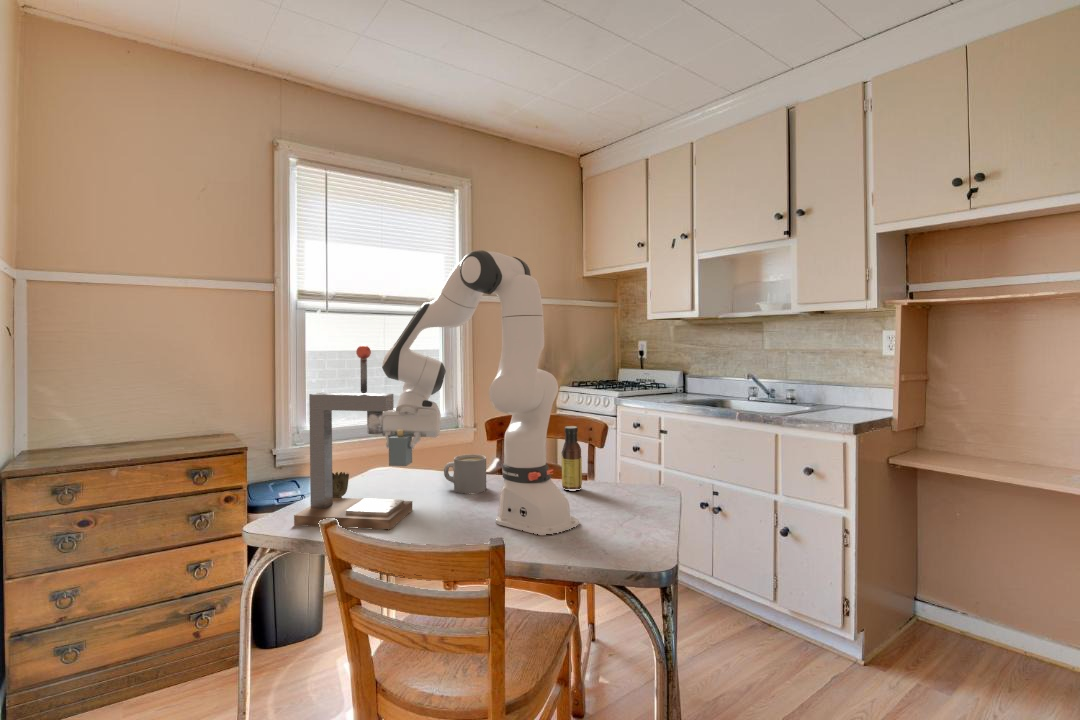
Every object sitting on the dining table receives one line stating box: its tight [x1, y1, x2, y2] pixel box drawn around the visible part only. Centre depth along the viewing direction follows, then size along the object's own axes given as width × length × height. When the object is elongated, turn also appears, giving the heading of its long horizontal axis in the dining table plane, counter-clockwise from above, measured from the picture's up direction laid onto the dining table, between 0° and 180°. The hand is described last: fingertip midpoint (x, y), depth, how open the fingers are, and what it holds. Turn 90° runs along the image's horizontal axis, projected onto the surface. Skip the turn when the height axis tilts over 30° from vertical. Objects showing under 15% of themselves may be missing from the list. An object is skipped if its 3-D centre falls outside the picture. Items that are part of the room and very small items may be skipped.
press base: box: [293, 497, 413, 531], centre depth 146 cm, size 25×16×2 cm, turn 83°
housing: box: [388, 430, 413, 467], centre depth 160 cm, size 5×5×10 cm
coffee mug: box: [443, 453, 487, 495], centre depth 174 cm, size 13×10×10 cm
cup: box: [332, 471, 350, 498], centre depth 160 cm, size 8×7×8 cm
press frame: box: [308, 344, 405, 516], centre depth 145 cm, size 22×11×43 cm, turn 83°
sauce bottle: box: [560, 425, 583, 489], centre depth 174 cm, size 7×6×20 cm
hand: (399, 447), depth 159 cm, fingers closed on housing, 5 cm apart
